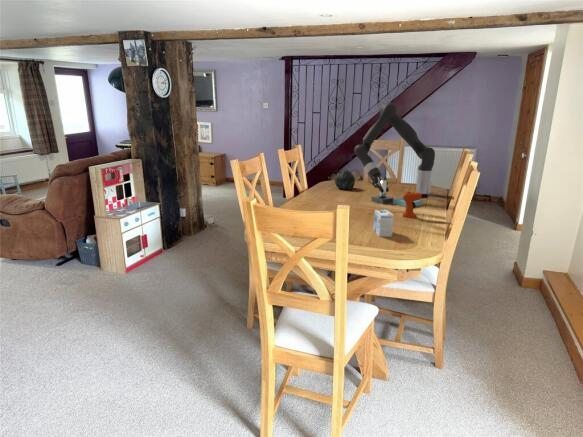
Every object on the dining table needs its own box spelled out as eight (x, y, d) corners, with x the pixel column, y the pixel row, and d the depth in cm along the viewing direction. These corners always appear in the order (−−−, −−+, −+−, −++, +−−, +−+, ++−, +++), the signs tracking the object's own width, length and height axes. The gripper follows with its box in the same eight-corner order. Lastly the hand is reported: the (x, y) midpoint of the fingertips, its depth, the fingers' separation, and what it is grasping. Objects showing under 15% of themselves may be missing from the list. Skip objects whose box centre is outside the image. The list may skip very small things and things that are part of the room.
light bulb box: (372, 230, 207) (374, 209, 204) (385, 230, 207) (387, 209, 204) (379, 237, 197) (380, 215, 194) (392, 236, 197) (394, 215, 194)
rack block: (405, 201, 270) (406, 196, 270) (422, 204, 260) (422, 200, 260) (392, 203, 263) (393, 199, 262) (409, 207, 253) (409, 203, 252)
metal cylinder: (382, 200, 271) (383, 179, 267) (386, 201, 268) (388, 180, 264) (377, 201, 268) (379, 180, 265) (382, 202, 265) (384, 181, 262)
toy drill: (437, 217, 226) (437, 190, 222) (402, 219, 231) (401, 193, 228) (437, 215, 230) (436, 189, 227) (402, 216, 236) (401, 191, 232)
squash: (342, 178, 319) (337, 165, 308) (360, 181, 310) (355, 168, 299) (335, 192, 313) (329, 180, 302) (352, 196, 305) (347, 183, 294)
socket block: (381, 199, 275) (381, 194, 274) (393, 202, 267) (393, 197, 266) (371, 201, 269) (371, 196, 268) (382, 204, 261) (383, 199, 261)
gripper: (368, 167, 264) (381, 189, 258) (383, 166, 272) (396, 187, 266) (361, 174, 270) (374, 196, 263) (376, 173, 278) (389, 193, 271)
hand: (385, 191), depth 265 cm, fingers closed on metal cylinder, 4 cm apart
